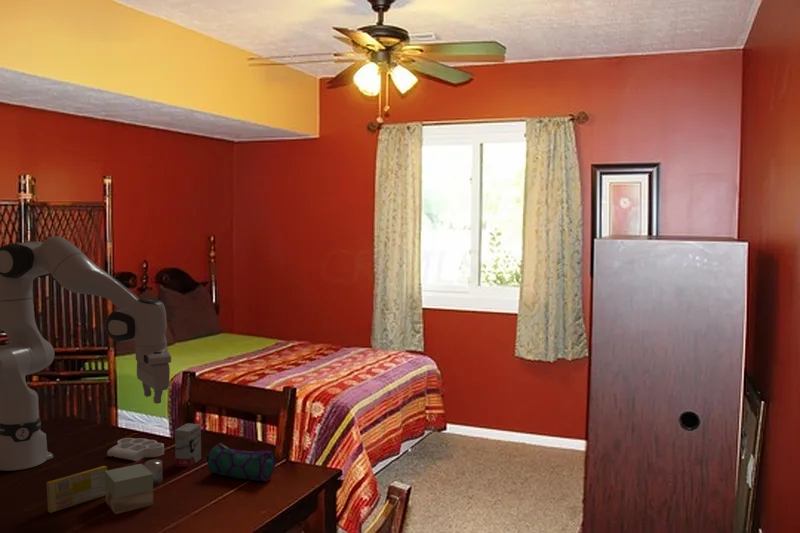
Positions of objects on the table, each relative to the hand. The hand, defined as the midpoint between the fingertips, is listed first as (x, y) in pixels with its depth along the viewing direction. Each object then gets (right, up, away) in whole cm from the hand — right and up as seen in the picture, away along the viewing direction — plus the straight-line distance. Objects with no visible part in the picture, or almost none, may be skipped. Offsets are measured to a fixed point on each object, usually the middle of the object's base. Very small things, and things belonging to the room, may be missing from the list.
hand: (152, 399), depth 204 cm
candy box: (-15, -26, -14) cm, 33 cm away
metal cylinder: (0, -25, +2) cm, 25 cm away
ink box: (+5, -24, +18) cm, 31 cm away
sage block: (-1, -22, -14) cm, 26 cm away
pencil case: (+25, -25, +6) cm, 36 cm away
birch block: (-1, -26, -14) cm, 30 cm away
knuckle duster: (-15, -24, +27) cm, 39 cm away
